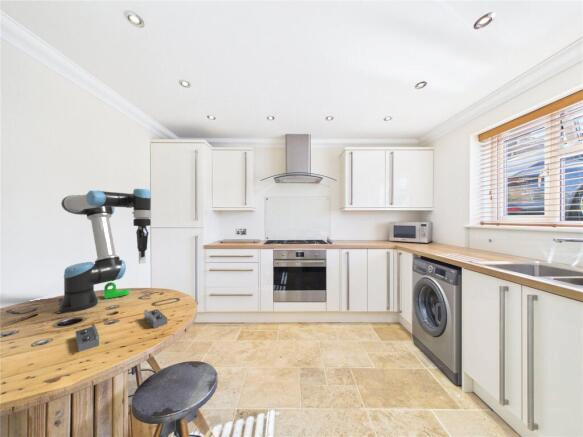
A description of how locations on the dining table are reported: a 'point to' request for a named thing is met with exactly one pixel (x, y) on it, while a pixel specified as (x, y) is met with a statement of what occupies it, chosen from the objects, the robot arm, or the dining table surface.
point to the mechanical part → (114, 291)
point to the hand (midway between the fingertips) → (142, 263)
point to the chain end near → (87, 338)
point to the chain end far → (155, 318)
